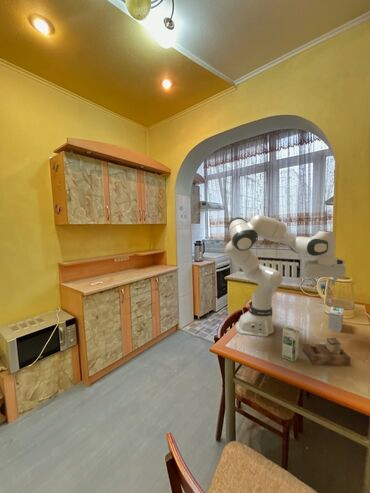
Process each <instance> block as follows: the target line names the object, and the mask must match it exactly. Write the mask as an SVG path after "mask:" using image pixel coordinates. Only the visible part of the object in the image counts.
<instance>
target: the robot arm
mask: <svg viewBox="0 0 370 493" xmlns="http://www.w3.org/2000/svg"><path fill="white" fill-rule="evenodd" d="M227 226H228V227H227V228H228V234H229V238H230V241H229V242H228V243H227V244H226V245H225V249H224V250H225V253H226V254H227V256H228V257H229V258H230V260H231V261H232V262H233V263H234V264H236V265H237V266H238V267H239V269H241V270H242V271H243V274H244V276H245V278H246V279H248V280H249V281H251V282H252V283H256V284H257V289H255V290H254V291H253V292H252V295H251V305H250V304H248V303H247V304H246V307H247V309H248V311H246V312H245V313H243V314H241V315H240V316H239V321H237V322H236V323H235V329H236V332H237V333H238V334H240V335H247V336H256V337H257V336H258V337H264V338H266V337H267V338H268V336H269V335H271V334H273V333H274V332H275V329H274V328H275V327H274V323H273V313H274V311H273V306H272V305H273V293H274V292H275V290H276V289H278V287H280V286H281V285H282V282H283V278H284V277H283V275H282V273H281V271H278V270H277V269H275V268H273V267H269V266H265V265H263V264H261V263H259V258H258V256H257V255H256V254H255V253H254V252H253V251H252V250H251V248H252V247H253V246H254V244H255V243H256V242H257V241H258V238H259V237H260V238H262V239H265V240H267V241H270V242H274V243H280V244H283V245H285V246H288V247H289V249H290V250H291V251H292V252H294V253H296V254H302V255H306V256H310V257H315V260H307V261H305V262H304V270H303V275H304V277H306V278H310V280H311V281H312V285H313V286H317V285H318V284H317V283H318V282H317V281H316V280H315V279H316V278H333V279H332V280H331V281H330V285H331V286H335V285H336V282H337V281H338V279H339V278H344V277H345V276H346V274H347V271H346V268H347V267H346V265H345V262H346V261H345V260H343V259H341V258H338V257H336V254H335V253H336V252H335V251H336V250H335V249H336V246H337V245H336V244H337V242H336V241H337V240H336V234H335V232H333V231H330V230H318V232H316V234H314V235H312V236H303V235H292V234H290V233H288V232H287V231H288V228H287V225H286V224H285V223H283V222H282V221H280V220H278V219H276V218H273V217H271V216H267V215H263V214H255V215H254V216H253V217H251V219H250V221H248V222H247V220H245V219H244V218H243V217H240V216H236V217H233V218H232V219H230V221H229V222H228V225H227Z"/></svg>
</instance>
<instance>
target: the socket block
mask: <svg viewBox="0 0 370 493" xmlns="http://www.w3.org/2000/svg"><path fill="white" fill-rule="evenodd" d="M302 352H303V354H305V356H306V357H307V359H308V361H309V362H310V363H311V365H320V366H323V365H324V366H351V356H350V355H348V353H347V352H345V351H344V349H342V348H341V347H340V354H330V353H329V352H328V351H327V350H326V343H325V344H324V343H303V344H302Z"/></svg>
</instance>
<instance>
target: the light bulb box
mask: <svg viewBox="0 0 370 493" xmlns="http://www.w3.org/2000/svg"><path fill="white" fill-rule="evenodd" d="M329 309H330V310H329V312H328V320H327V322H328V323H327V329H328V330H330V331H335V332H338V333H342V329H343V323H344V310H345V309H344V308H340V307H335V306H330V308H329Z"/></svg>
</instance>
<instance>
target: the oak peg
mask: <svg viewBox="0 0 370 493" xmlns="http://www.w3.org/2000/svg"><path fill="white" fill-rule="evenodd" d="M325 344H326V350H327V351H328V352H329V353H330V354H340V348H341V344H342V343H341V341H339V340H338V339H337V337H326V343H325Z"/></svg>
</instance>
